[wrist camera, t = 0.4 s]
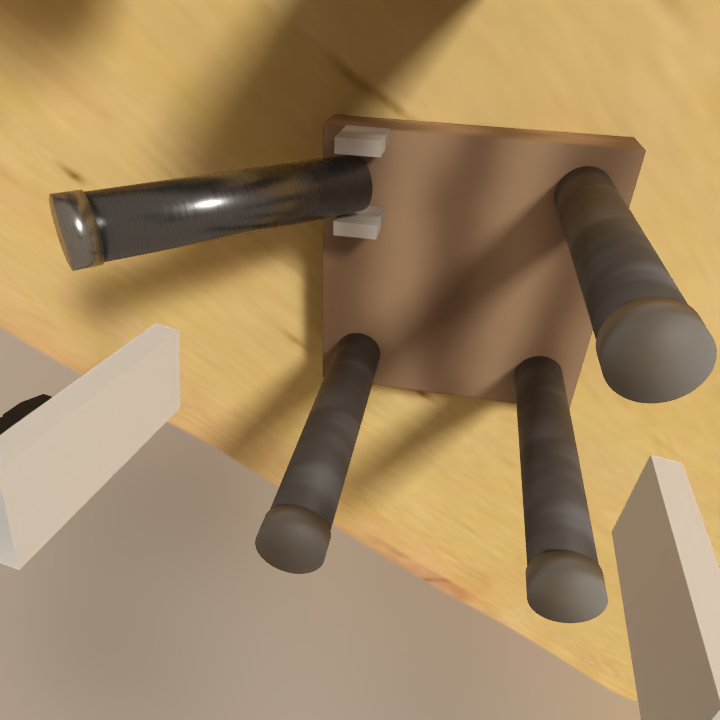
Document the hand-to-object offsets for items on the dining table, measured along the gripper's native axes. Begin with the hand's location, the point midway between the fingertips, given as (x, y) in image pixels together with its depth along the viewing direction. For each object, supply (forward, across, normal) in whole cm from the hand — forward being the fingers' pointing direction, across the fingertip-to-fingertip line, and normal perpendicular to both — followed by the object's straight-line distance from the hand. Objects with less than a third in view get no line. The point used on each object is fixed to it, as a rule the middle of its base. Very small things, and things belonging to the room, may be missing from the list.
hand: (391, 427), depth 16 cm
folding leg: (+19, -6, +2) cm, 20 cm away
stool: (+24, 0, -3) cm, 24 cm away
